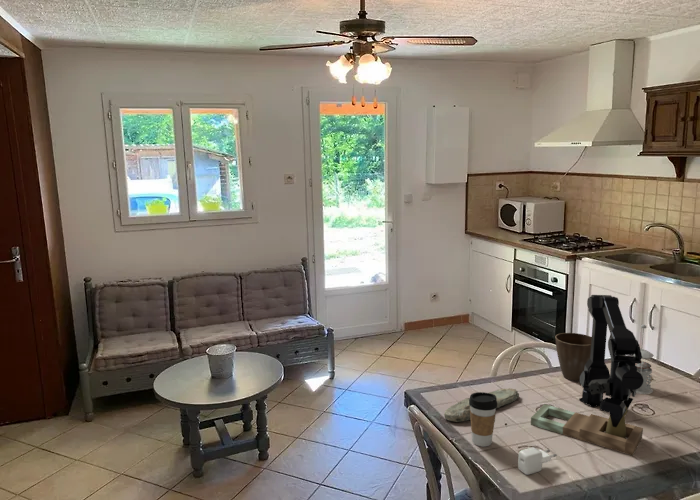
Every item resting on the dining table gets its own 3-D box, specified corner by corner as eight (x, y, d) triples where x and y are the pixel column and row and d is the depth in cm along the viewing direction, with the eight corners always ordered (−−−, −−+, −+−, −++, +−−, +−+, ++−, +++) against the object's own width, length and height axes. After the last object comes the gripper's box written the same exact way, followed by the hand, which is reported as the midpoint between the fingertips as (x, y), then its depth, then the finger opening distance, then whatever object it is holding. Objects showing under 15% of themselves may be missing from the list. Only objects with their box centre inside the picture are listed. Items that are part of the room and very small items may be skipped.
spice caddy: (642, 438, 169) (642, 428, 169) (632, 455, 160) (633, 444, 159) (544, 410, 188) (544, 401, 188) (530, 424, 179) (531, 414, 178)
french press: (654, 386, 207) (659, 323, 202) (651, 398, 197) (657, 331, 193) (625, 381, 212) (630, 319, 208) (621, 392, 202) (626, 327, 198)
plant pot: (548, 369, 224) (550, 332, 221) (584, 369, 223) (587, 332, 220) (560, 384, 209) (563, 345, 206) (600, 385, 209) (603, 345, 206)
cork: (625, 434, 170) (627, 401, 168) (627, 443, 165) (630, 409, 163) (603, 431, 172) (606, 398, 170) (605, 440, 166) (608, 407, 165)
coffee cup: (490, 451, 163) (492, 404, 160) (463, 444, 167) (465, 398, 165) (499, 439, 170) (501, 393, 167) (473, 432, 174) (474, 388, 172)
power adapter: (545, 459, 158) (547, 440, 157) (558, 467, 154) (559, 448, 153) (515, 468, 154) (516, 449, 153) (527, 477, 150) (528, 457, 149)
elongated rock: (526, 404, 197) (504, 395, 205) (526, 389, 196) (504, 382, 204) (458, 427, 177) (437, 417, 185) (459, 411, 176) (437, 402, 184)
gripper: (600, 360, 177) (597, 405, 180) (583, 379, 163) (580, 427, 165) (638, 368, 170) (634, 415, 173) (624, 388, 156) (619, 439, 158)
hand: (616, 423), depth 168 cm, fingers closed on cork, 4 cm apart
